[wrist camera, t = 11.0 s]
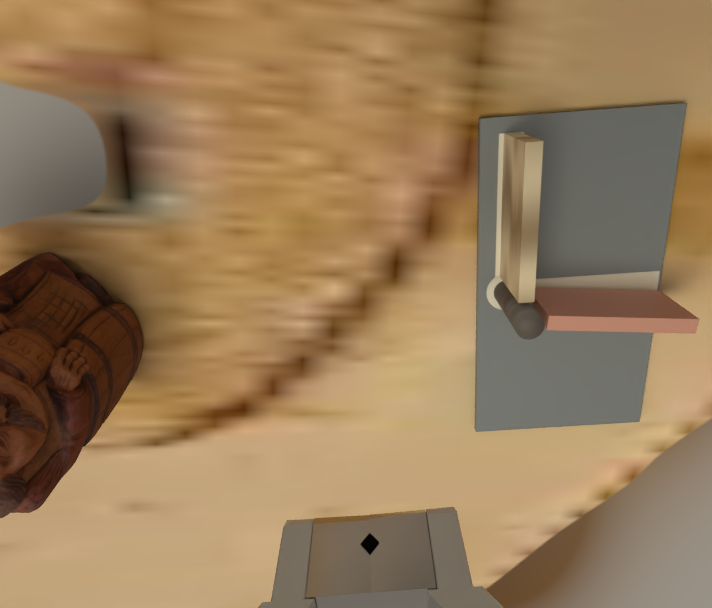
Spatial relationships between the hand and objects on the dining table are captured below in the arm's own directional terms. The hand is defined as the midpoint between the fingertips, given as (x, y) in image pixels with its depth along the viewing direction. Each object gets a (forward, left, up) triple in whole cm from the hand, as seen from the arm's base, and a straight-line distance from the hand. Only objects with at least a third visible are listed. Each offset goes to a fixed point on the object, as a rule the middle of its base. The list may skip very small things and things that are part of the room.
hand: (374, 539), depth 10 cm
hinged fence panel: (+8, +16, -29) cm, 34 cm away
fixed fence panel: (+3, +10, -30) cm, 31 cm away
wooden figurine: (+8, -21, -31) cm, 38 cm away
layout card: (+8, +14, -30) cm, 34 cm away
